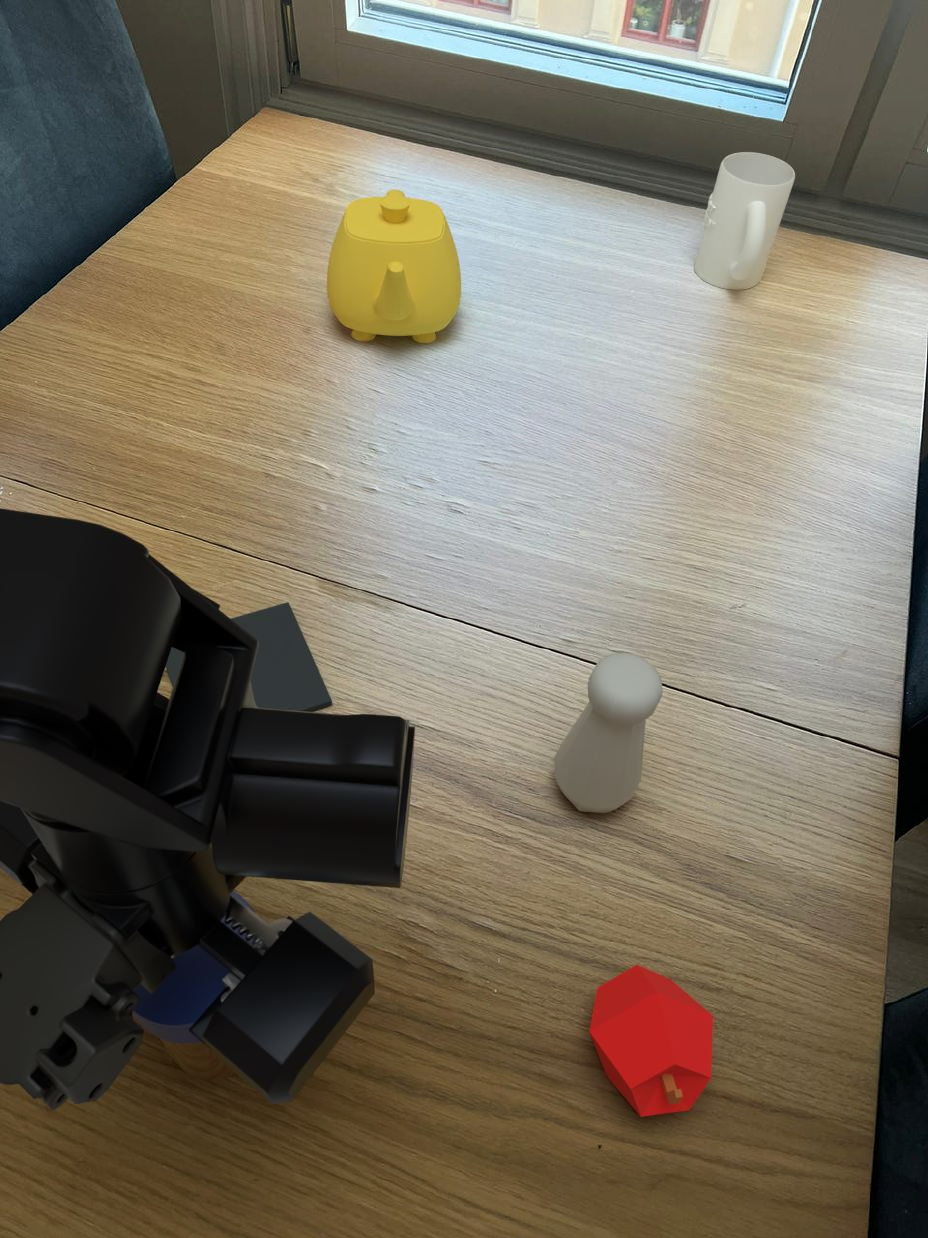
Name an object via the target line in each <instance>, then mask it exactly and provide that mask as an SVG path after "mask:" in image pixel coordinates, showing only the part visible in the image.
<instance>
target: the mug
mask: <svg viewBox="0 0 928 1238" xmlns="http://www.w3.org/2000/svg"><path fill="white" fill-rule="evenodd" d="M795 179H796V173H795V171H794V168H793V167H792V166H791V165H790V164H789V163H787V162H786V161H784V160H782V159H780V158H777V157H776V156H772V155H769V154H765V153H760V152H753V151H743V152H741V151H740V152H735V153H732V154H729V155H727V156H725V157H724V158H723V159H722V161H721V163H720V165H719V169H718V173H717V176H716V180H715V184H714V187H713V191H712V192H711V194H710V195H709V197H708V201H707V208H706V209H705V213H704V217H703V219H704V225H703V228H702V229H703V230H702V232H701V236H700V240H699V244H698V247H697V250H696V254H695V258H694V261H693V269H694V272H695V273H696V275H697V276H698V277H699V278H700V279H701V280H703V282H705V283H707V284H709V285H711V286H714V287H717V288H720V289H721V288H722V289H725V290H733V291H741V290H748V289H751V288H754V287H755V286H757V285H758V284H759V283H760V282H761V281H762V279H763V275H764V272H765V269H766V266H767V264H768V261H769V257H770V255H771V251H772V249H773V245H774V242H775V239H776V237H777V233H778V230H779V228H780V224H781V221H782V219H783V216H784V213H785V209H786V206H787V204H788V200H789V197H790V196H791V195H790V194H791V191H792V188H793V186H794V182H795Z"/></svg>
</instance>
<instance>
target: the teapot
mask: <svg viewBox="0 0 928 1238" xmlns="http://www.w3.org/2000/svg"><path fill="white" fill-rule="evenodd" d="M327 263H328V264H327V272H326V293H327V294H326V295H327V300H328V304H329V307H330V309H331V311H332V312H333V314H334V316H335V317H336V318H337V319H338V321H339V322H340V323H341V324H342V325H343V326H345V327H346V328H349V329H351V334H350V335H351V337H352V338H353V339H354V340H356V341H358V342H370V341H373V340H374V339H376V337H377V335H378V336H379V335H381V336H391V337H406V336H411V338H412V340H413V341H415V342H417V343H419V344H431V343H432V342H433V343H434V341H436V339H437V335H436V332H440V331H442V330H443V329H445V328H446V327H447V326H448V325H449V324H450V323H451V322H452V320H453V318H454V317H455V316H456V314H457V312H458V310H459V306H460V303H461V297H462V275H461V267H460V260H459V255H458V250H457V248H456V243H455V241H454V237H453V234H452V231H451V228H450V226H449V224H448V220H447V218H446V215H445V213H444V211H443V209H442V208H441V206H439V205H438V203H435V202H432V201H429V200H426V199H420V198H414V197H407V196H405V193H404V191H402V190H400V189H389V190H388V191H386V194H385V195H383V196H369V197H361V198H357V199H354V200H352V201H350V203H348V205H347V206H346V208H345V211H344V212H343V215H342V217H341V220H340V223H339V224H338V228H337V230H336V232H335V235H334V238H333V242H332V244H331V248H330V252H329V257H328V262H327Z"/></svg>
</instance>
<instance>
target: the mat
mask: <svg viewBox="0 0 928 1238" xmlns="http://www.w3.org/2000/svg"><path fill="white" fill-rule="evenodd" d="M230 619H231V620H233V621H234V622H235V623H236V624H238V625H239V626H240V627H241V628H243V629H244V630H245V631H246V632H248V633H249V634H250V635H251V636H253V637H254V638H255V639H256V640H257V641H258V642H259V646H258V651H257V655H256V659H255V663H254V667H253V671H252V675H251V679H250V681H251V686H252V691H253V697H254V700H255V704H256V706H257V707H258V708H268V709H281V710H293V711H306V712H316V711H318V710H321V709H324V708H327V707H330V706H332V705H333V701H332V698H331V695H330V693H329V691H328V689H327V685H326V684H325V682H324V679H323V677H322V675H321V672H320V670H319V667H318V665H317V664H316V662H315V659H314V657H313V655H312V652H311V650H310V648H309V645H308V644H307V640H306V639H305V636H304V634H303V631H302V630H301V627H300V625H299V623H298V620H297V618H296V616H295V613H294V611H293V609H292V607H291V604H290V602H289V601H288V602H284V603H280V604H276V605H273V606H270V607H267V608H263V609H259V610H256V611H252V612H249V613H245V614H242V615H238V616H235V617H231V618H230ZM183 654H184V652H182V651H180V650H177V649H175V648H173V647H172V648H171V651H170V654H169V657H168V660H167V663H166V667H165V668H166V671H167V674H168V677H169V681H170V683H171V687H173V686H174V683H175V679H176V676H177V673H178V670H179V667H180V663H181V660H182V657H183Z"/></svg>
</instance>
